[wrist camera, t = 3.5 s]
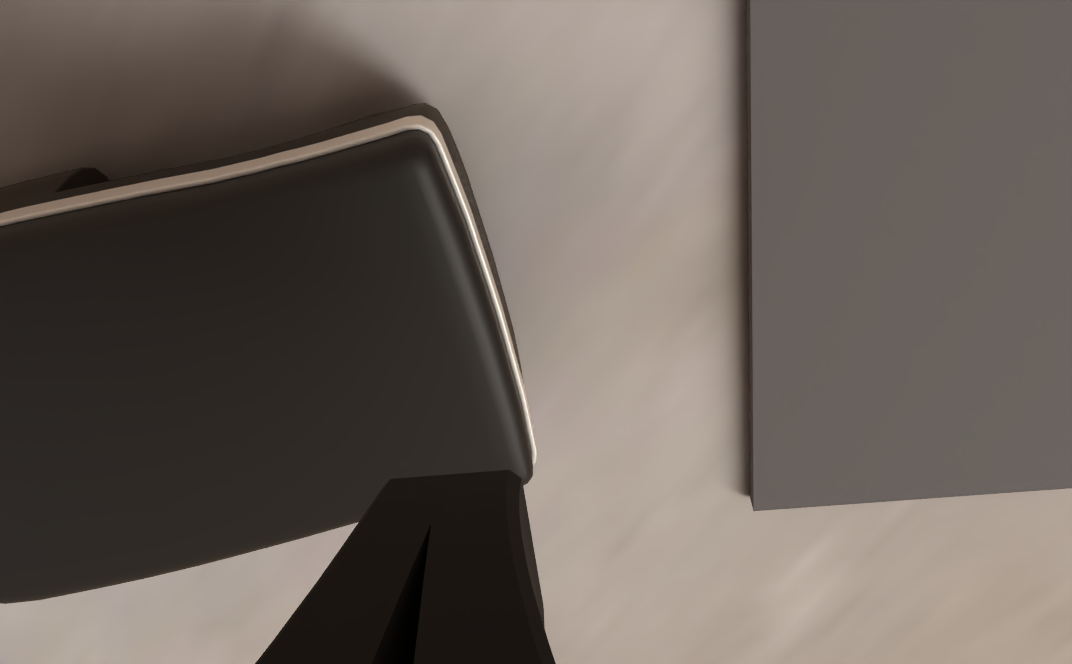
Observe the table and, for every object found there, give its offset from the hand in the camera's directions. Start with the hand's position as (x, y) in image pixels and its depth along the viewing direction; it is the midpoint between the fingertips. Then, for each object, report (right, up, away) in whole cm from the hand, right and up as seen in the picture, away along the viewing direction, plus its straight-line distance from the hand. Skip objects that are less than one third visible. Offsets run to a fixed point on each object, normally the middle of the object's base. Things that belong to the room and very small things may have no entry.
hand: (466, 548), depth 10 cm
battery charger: (0, +3, +6) cm, 7 cm away
